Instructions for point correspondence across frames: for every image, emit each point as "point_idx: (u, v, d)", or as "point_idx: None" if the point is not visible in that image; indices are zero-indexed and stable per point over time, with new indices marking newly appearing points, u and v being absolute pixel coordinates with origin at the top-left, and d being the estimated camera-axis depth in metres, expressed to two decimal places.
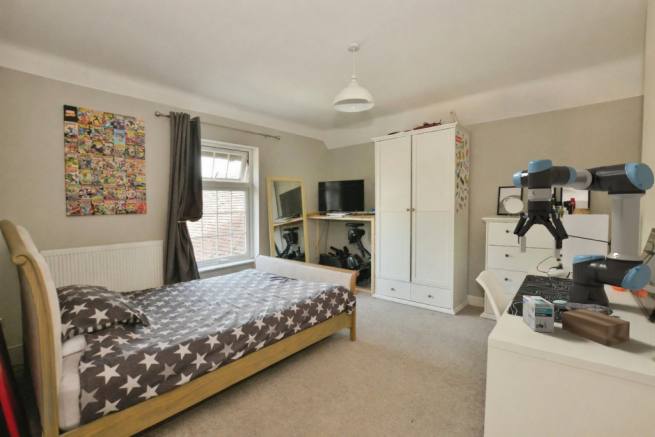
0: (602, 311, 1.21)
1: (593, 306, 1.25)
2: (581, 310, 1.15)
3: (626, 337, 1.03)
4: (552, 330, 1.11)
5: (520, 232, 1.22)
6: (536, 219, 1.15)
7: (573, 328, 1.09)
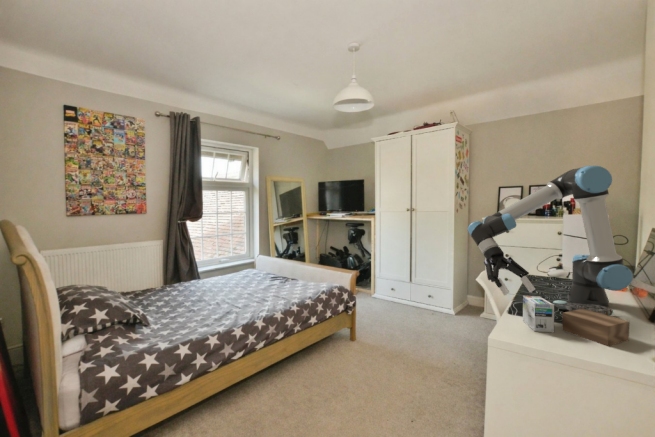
0: (602, 311, 1.21)
1: (593, 306, 1.25)
2: (580, 310, 1.15)
3: (626, 336, 1.03)
4: (552, 330, 1.11)
5: None
6: None
7: (574, 328, 1.09)
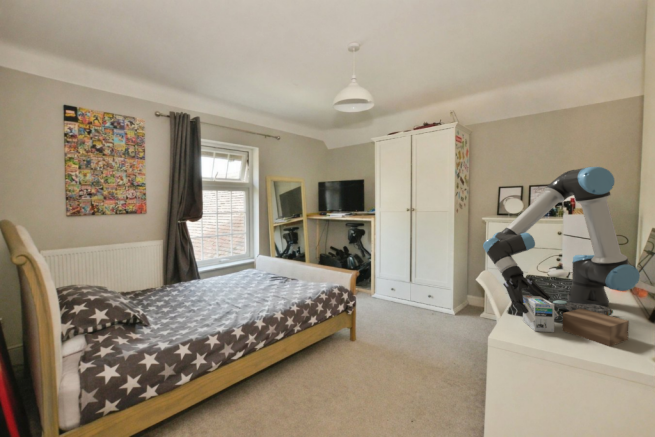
0: (602, 311, 1.21)
1: (593, 306, 1.25)
2: (579, 310, 1.15)
3: (625, 336, 1.04)
4: (552, 330, 1.11)
5: None
6: None
7: (574, 329, 1.09)
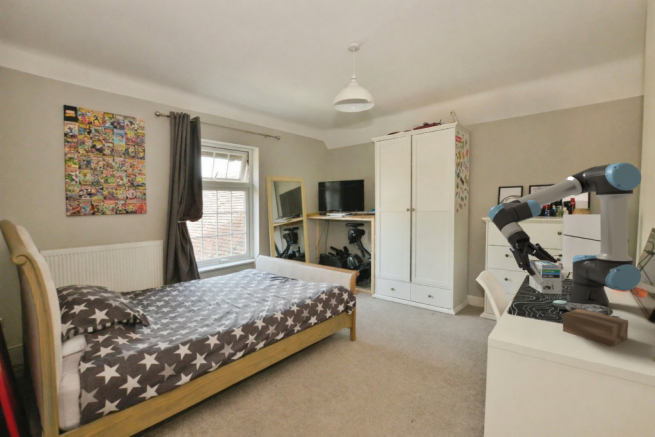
0: (602, 311, 1.21)
1: (593, 306, 1.25)
2: (578, 310, 1.15)
3: (625, 336, 1.04)
4: (560, 291, 1.09)
5: None
6: None
7: (575, 329, 1.08)
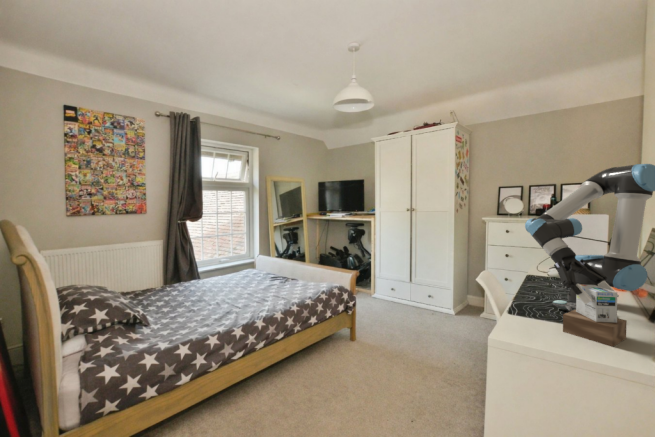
0: None
1: None
2: None
3: (624, 336, 1.04)
4: (615, 320, 1.02)
5: None
6: None
7: (575, 330, 1.08)
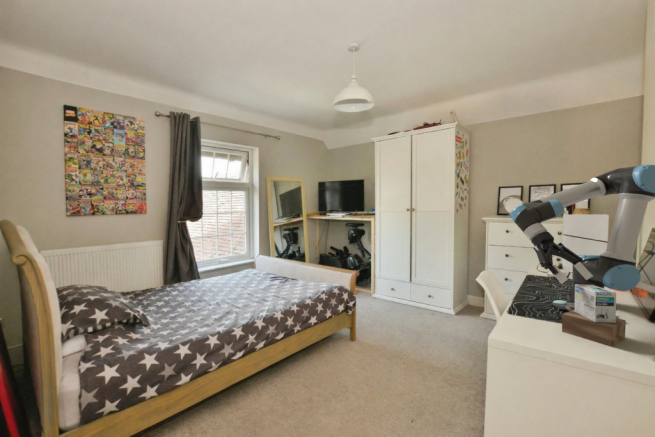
0: None
1: None
2: None
3: (623, 335, 1.04)
4: (614, 320, 1.02)
5: None
6: None
7: (574, 330, 1.08)
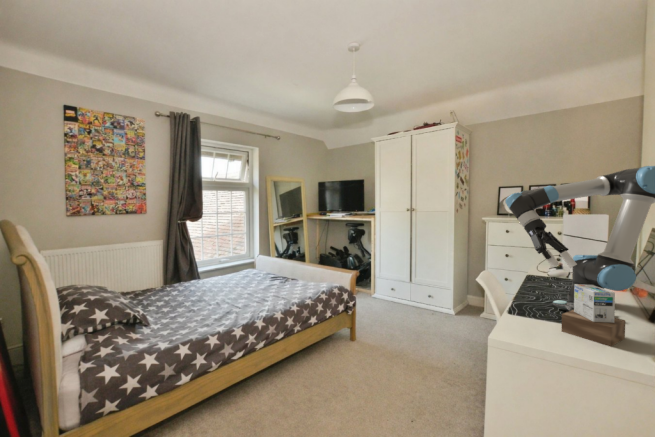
0: None
1: None
2: None
3: (623, 335, 1.04)
4: (612, 320, 1.02)
5: None
6: None
7: (574, 330, 1.08)
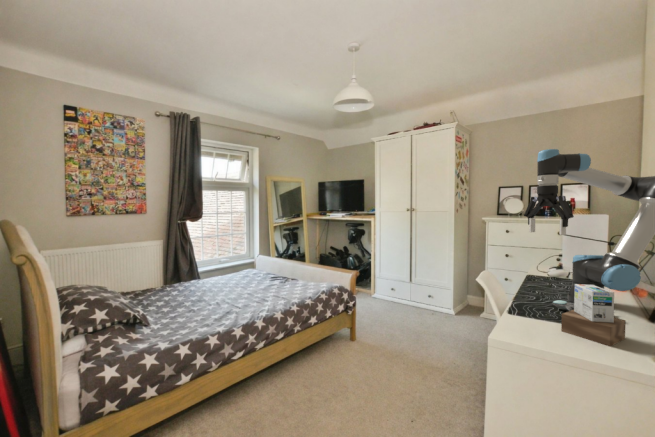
0: None
1: None
2: None
3: (623, 335, 1.04)
4: (612, 320, 1.02)
5: (530, 214, 1.38)
6: (545, 202, 1.31)
7: (574, 329, 1.08)
